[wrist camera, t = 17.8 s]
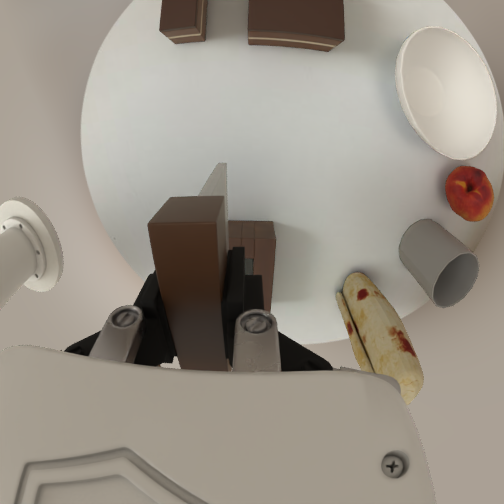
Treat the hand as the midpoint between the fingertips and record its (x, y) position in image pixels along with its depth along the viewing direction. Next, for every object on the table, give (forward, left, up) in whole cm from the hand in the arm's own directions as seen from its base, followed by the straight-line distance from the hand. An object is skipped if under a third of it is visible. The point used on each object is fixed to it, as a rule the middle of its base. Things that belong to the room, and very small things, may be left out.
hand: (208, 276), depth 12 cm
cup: (+28, -8, -21) cm, 36 cm away
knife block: (+2, -12, -21) cm, 24 cm away
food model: (+18, -16, -21) cm, 32 cm away
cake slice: (-5, +21, -21) cm, 30 cm away
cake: (+6, +21, -21) cm, 30 cm away
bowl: (+24, +14, -21) cm, 35 cm away
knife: (0, 0, -8) cm, 8 cm away
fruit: (+32, +2, -21) cm, 38 cm away
